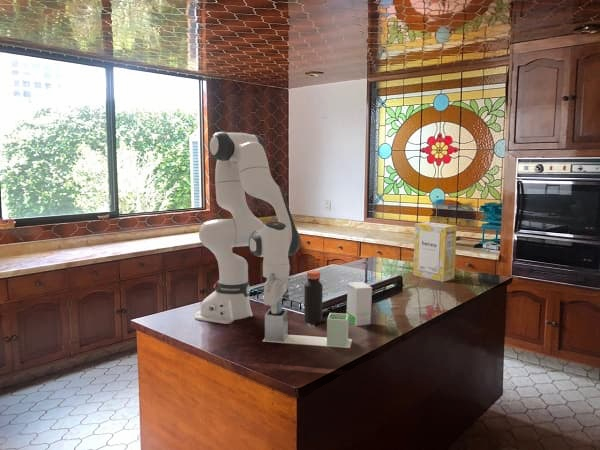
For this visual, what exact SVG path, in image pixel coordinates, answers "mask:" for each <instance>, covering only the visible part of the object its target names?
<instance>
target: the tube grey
mask: <svg viewBox="0 0 600 450" xmlns="http://www.w3.org/2000/svg"><path fill="white" fill-rule="evenodd" d="M288 311H289V310H288V309H282V311H281V312H280V313H279V314H272V313H271V309H270V308H269V309H268V311H266V313H265V314H264V338H265V341H275V342H274V343H277V342H284V341H285V339H286V337H287V335H289V334H288V332H289V328H288V317H289V316H288Z"/></svg>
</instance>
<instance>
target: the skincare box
mask: <svg viewBox="0 0 600 450" xmlns="http://www.w3.org/2000/svg"><path fill="white" fill-rule="evenodd" d="M346 292H347V294H346V295H347V296H346V297H347V299H346V313H345V314H348V324H352V325H354V326H355V327H357V326H366V325H367V326H368V325H371V314H372V300H373V299H372V296H373V287H372V286H370V285H369V284H368V283H365V282H363V281H353V282H352V281H351V282H347V291H346Z"/></svg>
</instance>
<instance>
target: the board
mask: <svg viewBox="0 0 600 450" xmlns="http://www.w3.org/2000/svg"><path fill="white" fill-rule="evenodd" d="M352 341H353V339H352V338H348V342H347V346H346V347H341V346H328V345H327V336H324V337H323V336H315V335H314V336H311V335H298V334H297V335H296V334H288V335H287V337H286V339H285V341H284V342H275V341H265V337H264V338H263V339H262V342H266V343H267V342H268V343H279V344H290V345H291V344H293V345H305V346H317V347H318V346H320V347H331V348H332V347H333V348H345V349H350V348H351V345H352Z"/></svg>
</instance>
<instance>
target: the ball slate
mask: <svg viewBox="0 0 600 450" xmlns="http://www.w3.org/2000/svg"><path fill="white" fill-rule="evenodd" d="M269 309H271V306H270V307H269ZM282 310H283V306H282V303H281V304H280V303H278V302H277V313H276V314H279V313H280V312H281V311H282Z"/></svg>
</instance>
